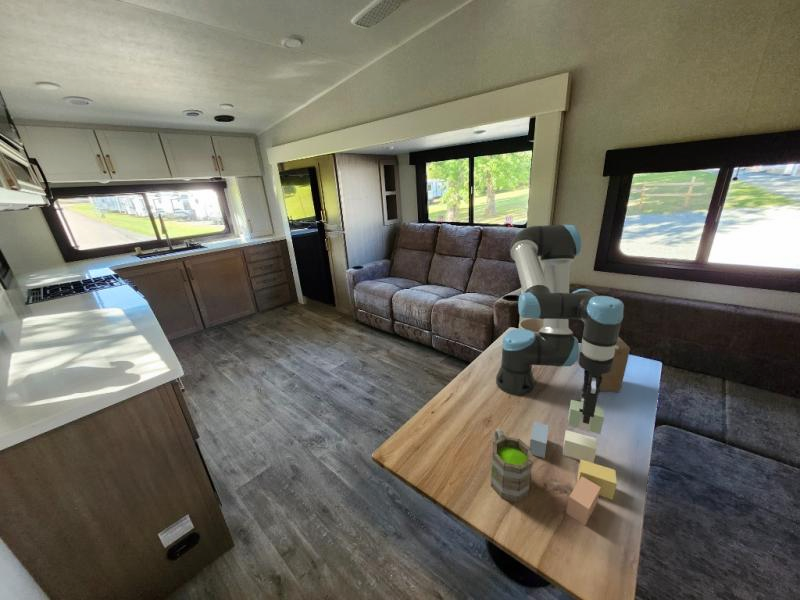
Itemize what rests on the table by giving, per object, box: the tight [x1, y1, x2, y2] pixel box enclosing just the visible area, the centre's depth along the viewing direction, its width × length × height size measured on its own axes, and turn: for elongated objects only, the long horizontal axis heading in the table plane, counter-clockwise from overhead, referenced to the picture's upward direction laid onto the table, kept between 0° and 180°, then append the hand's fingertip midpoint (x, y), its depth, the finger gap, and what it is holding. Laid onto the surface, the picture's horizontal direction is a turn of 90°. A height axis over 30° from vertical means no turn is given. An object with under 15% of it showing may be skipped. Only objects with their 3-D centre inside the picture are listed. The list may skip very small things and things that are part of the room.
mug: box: [490, 428, 534, 503], centre depth 86 cm, size 16×11×12 cm
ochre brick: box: [577, 459, 618, 501], centre depth 82 cm, size 8×4×6 cm, turn 61°
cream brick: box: [562, 429, 598, 464], centre depth 92 cm, size 8×4×6 cm, turn 61°
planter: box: [518, 318, 544, 335], centre depth 149 cm, size 16×16×13 cm
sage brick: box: [567, 399, 605, 435], centre depth 88 cm, size 8×4×6 cm, turn 61°
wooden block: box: [596, 336, 631, 393], centre depth 119 cm, size 10×10×20 cm
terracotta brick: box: [565, 476, 601, 526], centre depth 77 cm, size 8×4×6 cm, turn 131°
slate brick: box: [529, 421, 549, 459], centre depth 96 cm, size 8×4×6 cm, turn 151°
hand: (583, 423), depth 89 cm, fingers closed on sage brick, 4 cm apart
